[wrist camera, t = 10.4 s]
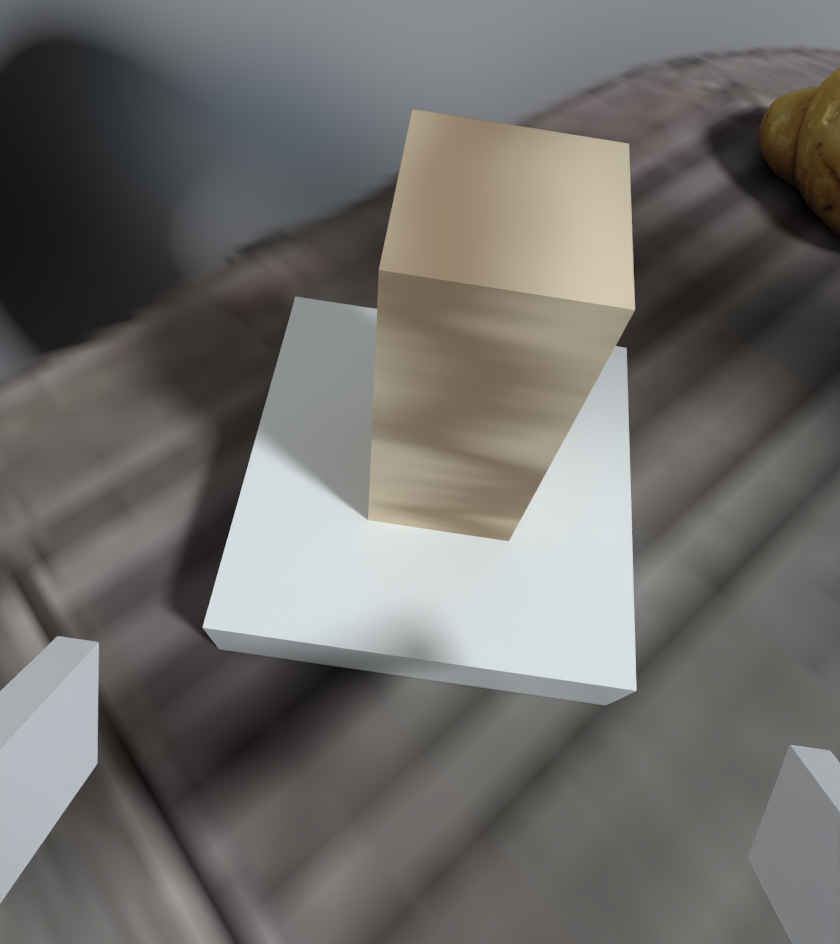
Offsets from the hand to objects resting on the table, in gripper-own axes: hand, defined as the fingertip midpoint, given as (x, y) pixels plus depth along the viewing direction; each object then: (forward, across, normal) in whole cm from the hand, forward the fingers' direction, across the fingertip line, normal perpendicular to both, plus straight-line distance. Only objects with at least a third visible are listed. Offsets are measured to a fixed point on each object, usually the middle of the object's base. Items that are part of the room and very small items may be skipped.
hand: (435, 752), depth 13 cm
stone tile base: (+15, 0, 0) cm, 15 cm away
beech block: (+13, 0, +2) cm, 13 cm away
